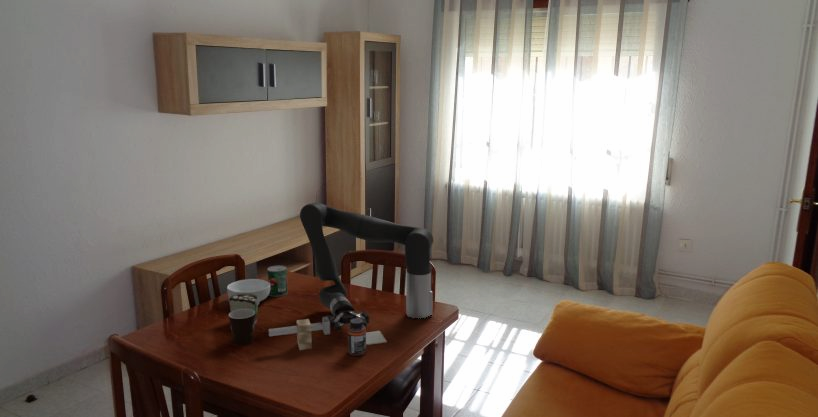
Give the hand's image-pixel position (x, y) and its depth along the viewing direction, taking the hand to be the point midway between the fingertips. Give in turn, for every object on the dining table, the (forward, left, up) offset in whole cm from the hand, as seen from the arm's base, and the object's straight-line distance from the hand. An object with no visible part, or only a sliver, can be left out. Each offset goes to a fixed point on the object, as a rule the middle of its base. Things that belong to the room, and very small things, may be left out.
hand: (352, 327), depth 199 cm
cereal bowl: (+30, -52, -7) cm, 61 cm away
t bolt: (+17, -4, -2) cm, 18 cm away
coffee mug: (+34, -16, -7) cm, 38 cm away
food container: (+32, -32, -7) cm, 46 cm away
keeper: (+15, -4, -7) cm, 17 cm away
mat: (-7, -3, -7) cm, 10 cm away
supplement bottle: (0, +6, -7) cm, 9 cm away
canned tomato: (+18, -58, -7) cm, 62 cm away
